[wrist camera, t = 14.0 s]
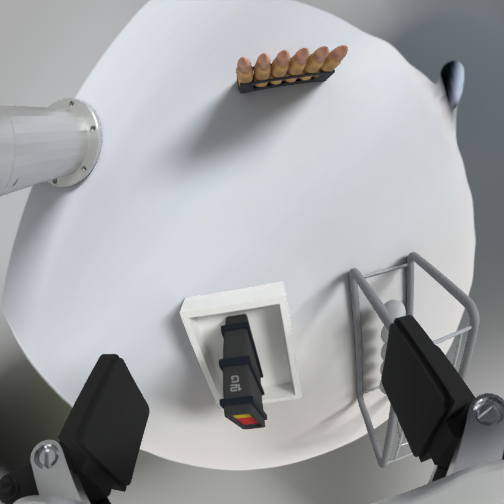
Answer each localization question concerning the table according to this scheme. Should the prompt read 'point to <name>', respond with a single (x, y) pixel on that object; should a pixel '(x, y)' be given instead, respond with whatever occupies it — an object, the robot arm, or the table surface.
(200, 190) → the table surface
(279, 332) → the parts tray
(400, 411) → the robot arm
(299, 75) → the ammunition clip
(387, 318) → the newton's cradle
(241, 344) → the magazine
